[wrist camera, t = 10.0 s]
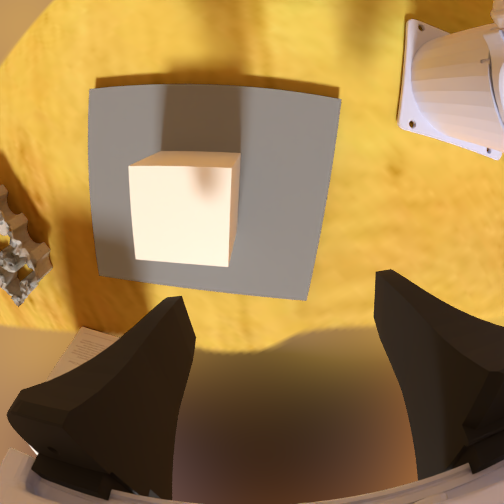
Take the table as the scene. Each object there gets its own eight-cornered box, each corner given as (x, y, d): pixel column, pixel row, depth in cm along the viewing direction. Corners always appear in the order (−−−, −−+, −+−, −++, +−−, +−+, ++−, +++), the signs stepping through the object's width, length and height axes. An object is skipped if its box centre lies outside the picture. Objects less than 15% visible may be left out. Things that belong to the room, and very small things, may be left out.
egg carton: (-25, 214, 22) (-52, 229, 18) (2, 167, 20) (-29, 180, 16) (29, 296, 26) (7, 318, 22) (64, 262, 24) (39, 286, 20)
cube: (240, 153, 18) (231, 168, 14) (237, 229, 20) (228, 266, 16) (160, 150, 18) (128, 165, 14) (163, 225, 20) (135, 259, 16)
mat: (338, 99, 17) (341, 99, 16) (305, 294, 23) (306, 300, 23) (95, 89, 17) (89, 89, 16) (103, 270, 23) (99, 275, 23)
